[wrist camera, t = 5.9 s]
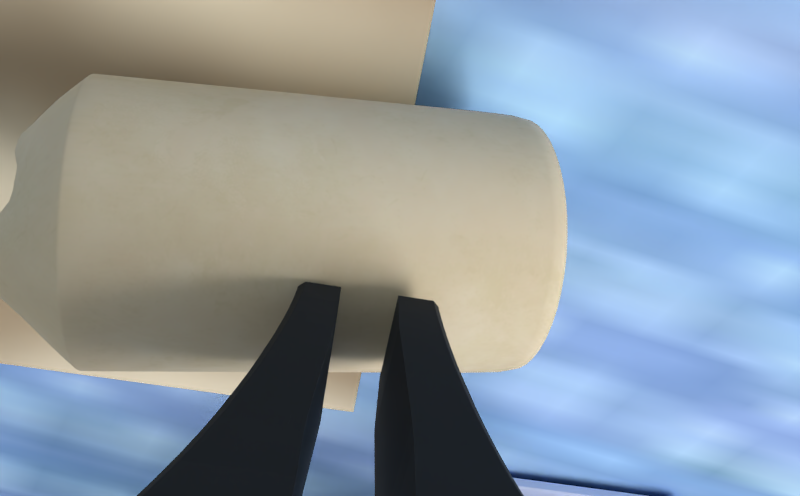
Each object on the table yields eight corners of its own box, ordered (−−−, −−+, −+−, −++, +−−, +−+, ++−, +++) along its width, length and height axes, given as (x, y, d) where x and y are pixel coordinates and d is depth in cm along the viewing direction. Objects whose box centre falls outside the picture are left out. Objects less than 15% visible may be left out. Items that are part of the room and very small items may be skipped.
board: (355, 392, 23) (353, 412, 23) (-75, 332, 22) (-91, 350, 22) (491, -293, 12) (494, -293, 12) (-335, -472, 11) (-381, -483, 11)
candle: (604, 262, 12) (-84, 231, 9) (498, 419, 16) (-1, 426, 13) (525, 62, 15) (10, 2, 13) (455, 233, 19) (53, 212, 17)
